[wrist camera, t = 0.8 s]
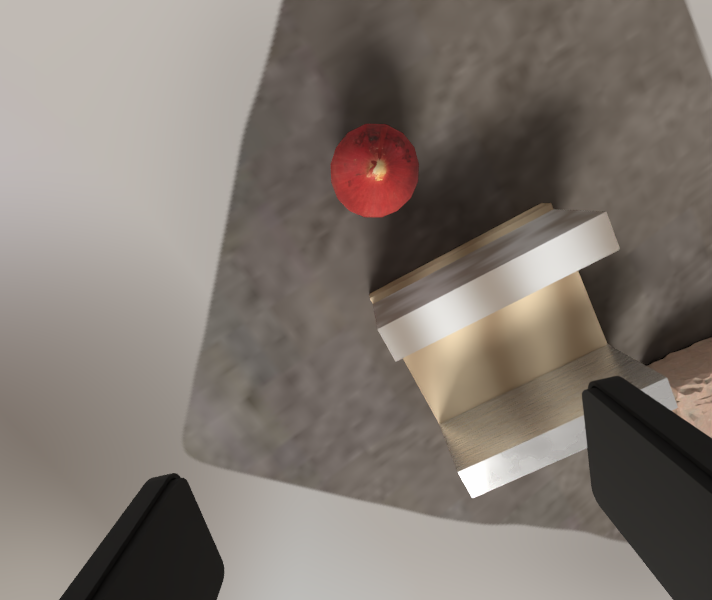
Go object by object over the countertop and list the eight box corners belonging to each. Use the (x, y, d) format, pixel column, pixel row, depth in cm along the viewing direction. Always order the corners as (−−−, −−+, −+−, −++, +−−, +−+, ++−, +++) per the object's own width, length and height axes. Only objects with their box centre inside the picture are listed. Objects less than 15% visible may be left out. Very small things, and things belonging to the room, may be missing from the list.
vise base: (541, 203, 29) (603, 203, 22) (624, 407, 34) (698, 464, 26) (369, 293, 31) (373, 322, 24) (470, 476, 35) (500, 547, 28)
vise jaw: (608, 344, 30) (667, 377, 25) (623, 383, 31) (684, 424, 26) (439, 423, 32) (457, 472, 26) (458, 458, 33) (480, 512, 27)
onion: (333, 134, 28) (325, 108, 20) (411, 134, 28) (433, 108, 20) (334, 215, 29) (327, 220, 22) (408, 215, 29) (428, 220, 22)
